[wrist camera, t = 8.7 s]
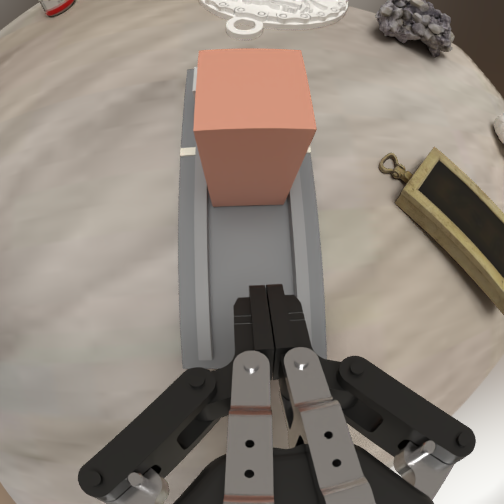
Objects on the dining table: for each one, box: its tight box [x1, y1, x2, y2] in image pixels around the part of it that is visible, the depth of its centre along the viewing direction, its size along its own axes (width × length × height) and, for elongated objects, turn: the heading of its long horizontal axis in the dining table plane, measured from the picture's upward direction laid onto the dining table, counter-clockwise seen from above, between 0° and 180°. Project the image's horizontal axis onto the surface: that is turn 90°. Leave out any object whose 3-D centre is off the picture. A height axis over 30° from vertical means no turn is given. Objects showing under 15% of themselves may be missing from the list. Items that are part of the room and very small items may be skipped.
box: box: [379, 147, 504, 315], centre depth 26 cm, size 8×22×5 cm, turn 47°
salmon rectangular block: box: [193, 49, 317, 207], centre depth 20 cm, size 6×6×12 cm
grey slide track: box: [178, 67, 327, 369], centre depth 24 cm, size 30×12×6 cm, turn 3°
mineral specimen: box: [375, 0, 455, 57], centre depth 29 cm, size 13×10×11 cm
